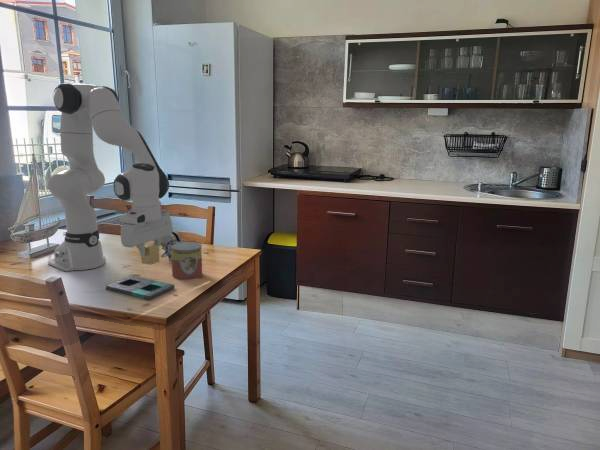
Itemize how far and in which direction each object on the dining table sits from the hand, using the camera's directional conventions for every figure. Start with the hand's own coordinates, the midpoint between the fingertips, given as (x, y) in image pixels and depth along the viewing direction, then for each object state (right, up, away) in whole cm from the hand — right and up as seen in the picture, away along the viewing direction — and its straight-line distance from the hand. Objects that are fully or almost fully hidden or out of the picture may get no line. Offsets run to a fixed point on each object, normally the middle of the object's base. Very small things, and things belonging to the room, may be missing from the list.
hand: (149, 253), depth 155 cm
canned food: (+8, -10, +21) cm, 25 cm away
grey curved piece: (-10, 0, +61) cm, 62 cm away
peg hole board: (-5, -13, +5) cm, 15 cm away
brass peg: (0, -3, +1) cm, 3 cm away
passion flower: (-2, -6, +40) cm, 40 cm away
